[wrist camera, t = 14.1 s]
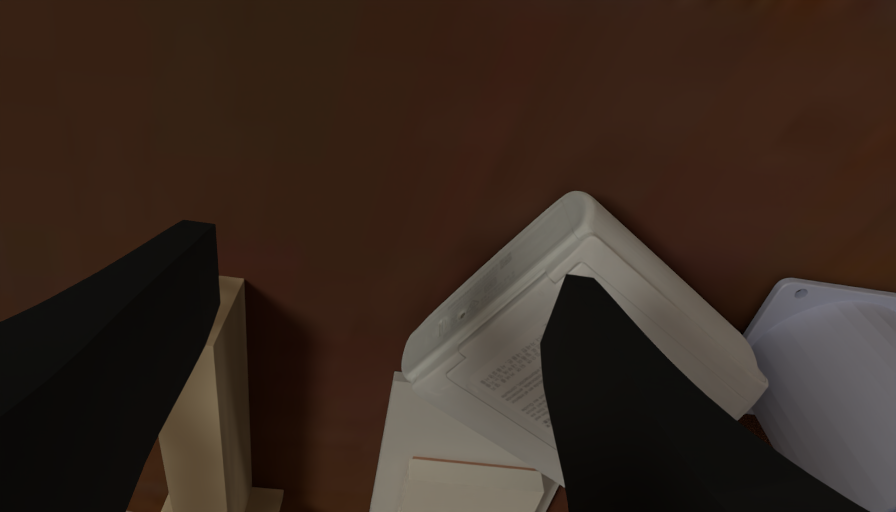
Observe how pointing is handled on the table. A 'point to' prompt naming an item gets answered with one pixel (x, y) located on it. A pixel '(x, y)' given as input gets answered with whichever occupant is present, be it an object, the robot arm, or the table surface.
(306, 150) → the table surface
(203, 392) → the tan wooden slat
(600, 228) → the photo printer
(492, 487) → the tile
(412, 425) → the mat
